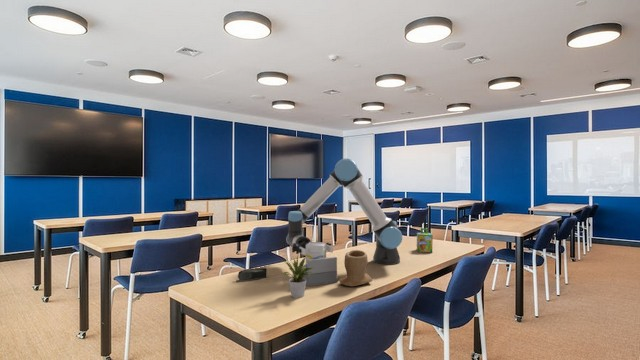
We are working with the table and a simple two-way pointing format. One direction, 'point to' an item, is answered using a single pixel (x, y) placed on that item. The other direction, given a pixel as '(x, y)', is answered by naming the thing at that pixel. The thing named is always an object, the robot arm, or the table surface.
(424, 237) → the green juice carton
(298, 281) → the house plant
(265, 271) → the mobile phone
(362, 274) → the stone cup
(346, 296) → the table surface
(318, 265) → the step
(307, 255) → the ink box
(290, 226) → the robot arm
